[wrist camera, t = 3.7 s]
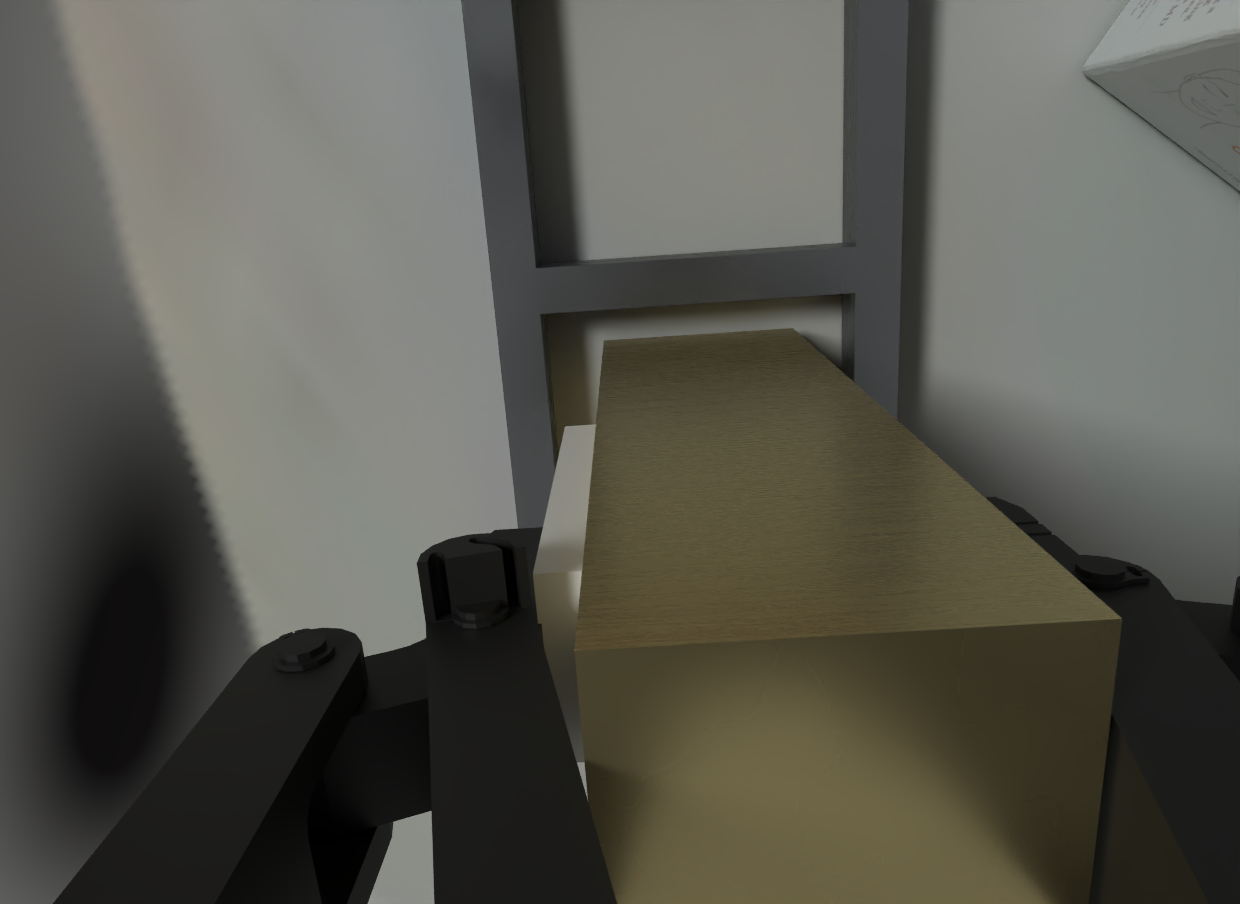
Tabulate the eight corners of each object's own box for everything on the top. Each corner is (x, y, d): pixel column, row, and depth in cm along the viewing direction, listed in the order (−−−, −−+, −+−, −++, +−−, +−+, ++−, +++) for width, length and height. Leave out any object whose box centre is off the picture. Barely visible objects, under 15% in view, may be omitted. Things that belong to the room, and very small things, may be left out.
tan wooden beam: (603, 340, 20) (574, 650, 7) (792, 328, 20) (1122, 618, 7) (616, 516, 22) (611, 1055, 8) (794, 504, 22) (1073, 1032, 8)
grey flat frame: (407, -587, 16) (386, -663, 14) (905, -630, 16) (933, -711, 14) (533, 605, 23) (527, 634, 22) (878, 585, 23) (895, 612, 21)
